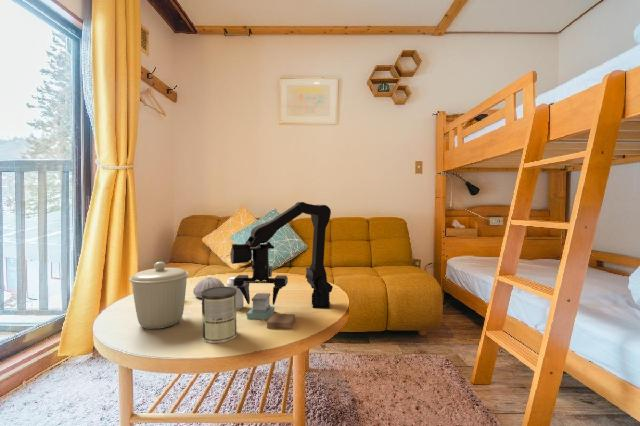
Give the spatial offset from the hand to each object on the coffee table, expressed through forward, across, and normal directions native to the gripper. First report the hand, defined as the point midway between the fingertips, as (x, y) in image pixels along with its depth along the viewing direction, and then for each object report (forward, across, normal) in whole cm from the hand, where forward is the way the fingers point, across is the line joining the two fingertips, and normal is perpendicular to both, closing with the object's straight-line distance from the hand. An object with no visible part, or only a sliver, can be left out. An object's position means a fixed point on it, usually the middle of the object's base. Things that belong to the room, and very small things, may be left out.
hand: (261, 304), depth 119 cm
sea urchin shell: (+4, +29, -23) cm, 37 cm away
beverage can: (+4, +12, -7) cm, 15 cm away
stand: (+4, 0, 0) cm, 4 cm away
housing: (+2, 0, 0) cm, 2 cm away
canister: (+4, +32, +10) cm, 34 cm away
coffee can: (+4, +8, +19) cm, 21 cm away
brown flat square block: (+4, -9, +8) cm, 13 cm away
